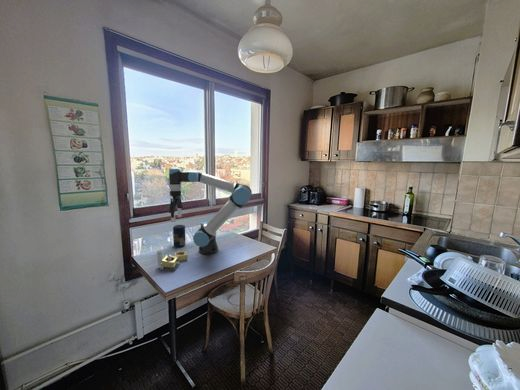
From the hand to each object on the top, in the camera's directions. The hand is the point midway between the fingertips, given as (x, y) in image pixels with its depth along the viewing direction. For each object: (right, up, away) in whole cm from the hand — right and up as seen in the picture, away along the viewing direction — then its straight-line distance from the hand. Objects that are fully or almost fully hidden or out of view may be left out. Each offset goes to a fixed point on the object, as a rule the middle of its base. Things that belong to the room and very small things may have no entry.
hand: (176, 219), depth 159 cm
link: (0, -29, -12) cm, 31 cm away
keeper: (-1, -31, -11) cm, 33 cm away
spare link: (+2, -29, +2) cm, 29 cm away
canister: (-7, -25, +26) cm, 37 cm away
